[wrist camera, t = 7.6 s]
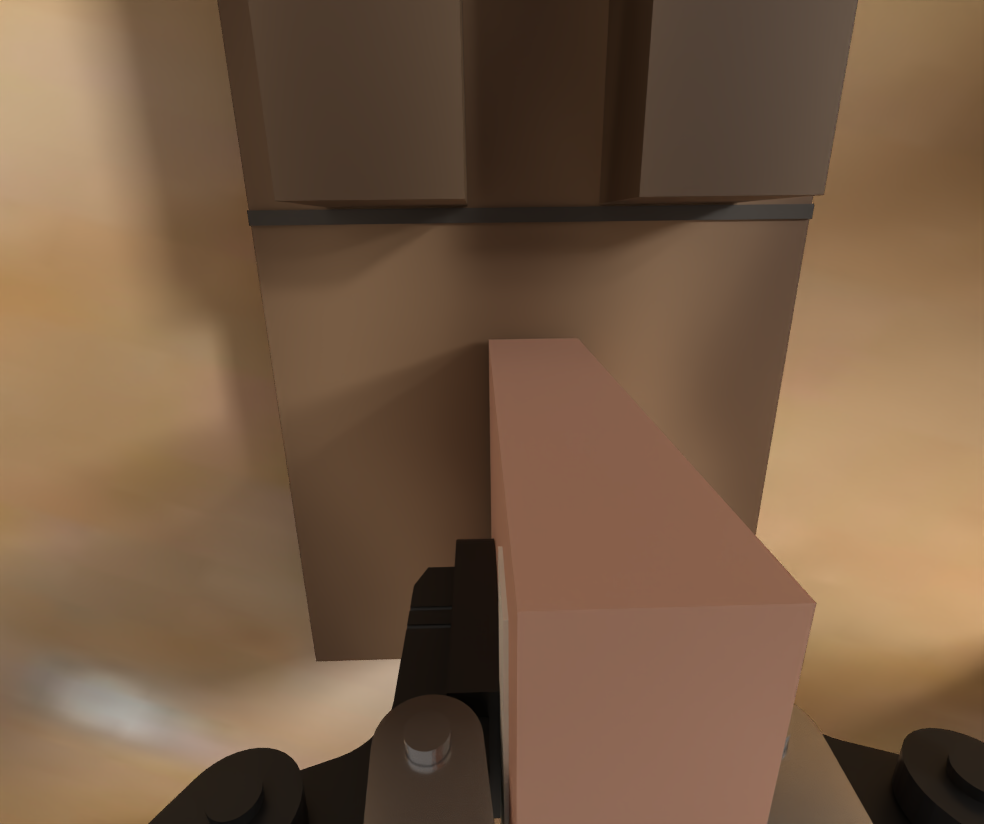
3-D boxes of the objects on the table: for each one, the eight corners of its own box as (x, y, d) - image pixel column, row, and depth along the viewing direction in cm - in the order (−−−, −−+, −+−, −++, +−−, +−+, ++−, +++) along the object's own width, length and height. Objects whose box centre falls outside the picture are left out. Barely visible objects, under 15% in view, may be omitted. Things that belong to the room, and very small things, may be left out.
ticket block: (846, -361, 10) (1165, -867, 5) (707, 602, 17) (794, 743, 13) (205, -369, 10) (-43, -908, 5) (333, 613, 17) (279, 760, 12)
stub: (579, 338, 12) (823, 601, 4) (567, 627, 15) (692, 1177, 6) (486, 339, 12) (510, 612, 4) (490, 629, 15) (510, 1188, 6)
